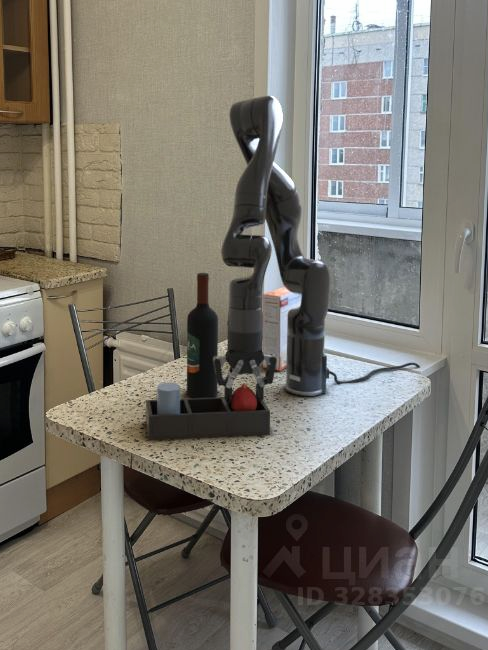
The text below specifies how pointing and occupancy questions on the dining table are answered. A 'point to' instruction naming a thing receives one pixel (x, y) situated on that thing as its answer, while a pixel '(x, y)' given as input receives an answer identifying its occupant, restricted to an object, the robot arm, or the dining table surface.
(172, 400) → the light blue cylinder
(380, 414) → the dining table surface
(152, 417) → the holder
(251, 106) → the robot arm
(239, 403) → the onion
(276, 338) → the cracker box
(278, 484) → the dining table surface
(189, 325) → the wine bottle
